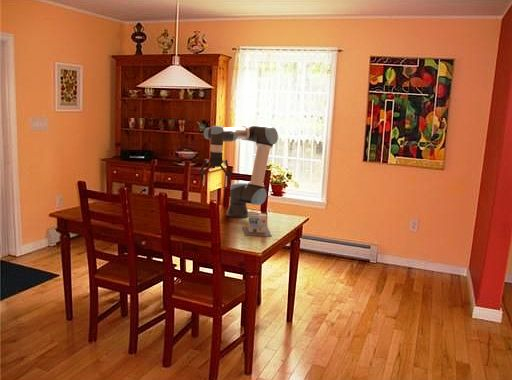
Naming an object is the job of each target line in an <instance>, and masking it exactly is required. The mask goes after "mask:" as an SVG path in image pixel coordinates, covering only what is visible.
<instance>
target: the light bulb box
mask: <svg viewBox="0 0 512 380" xmlns="http://www.w3.org/2000/svg"><path fill="white" fill-rule="evenodd" d="M267 218H268V216H267V214H266V213H257V212H256V213H253V212H250V213H249V212H248V225H247V227H248V231H249V232H256V233H266V228H267V221H268V220H267Z"/></svg>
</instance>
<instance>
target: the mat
mask: <svg viewBox="0 0 512 380" xmlns="http://www.w3.org/2000/svg"><path fill="white" fill-rule="evenodd" d="M242 229H243V232H244V236H245V237H269V238H270V237H272V236H273V235H272V233H271V232H270V229H269V228H268V227H266V233H256V232H249V231H248V226H242Z"/></svg>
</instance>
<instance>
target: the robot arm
mask: <svg viewBox="0 0 512 380" xmlns="http://www.w3.org/2000/svg"><path fill="white" fill-rule="evenodd" d="M203 136H204V139H206V140H210V149H209V150H210V152H209V159H207V158H205V159H204V162H203V164H202V166H201V167H200V170H199V171H198V174H199V175H201V181H202V185H203V187H205V182H206V179H205V178H206V175H205V174H206V173H207V172H208V171H209V170H210V169H211V168H212V167H213V168H220V169H221V170H222V171H223V172H224V174H225V181H224V182H225V184H224V185H225V186H224V187H225V188H227V186H228V182H229V180H230V176H232V175H233V174H232V171H231V167H230V166H229V164H228V159H223V154H224V153H223V152H224V143H225V142H226V143H228V142H230V143H232V142H235V141H237V140H241V141H248V142H252V143H255V145H256V146H257V147H256V152H255V157H254V158H255V159H254V163H253V167H252V168H253V169H252V173H251V178H250V181H249V182H248V183H247V182H238V183H237V182H236V183H231V185H230V192H229V193H230V195H229V205H228V208H227V211H226V216H227V217H230V218H234V219H235V218H238V219H240V218H241V219H243V218H247V217H248V218H249V210H248V206H247V204H250V205H255V206H256V205H257V206H261V205H262V204H263V203H264V202H265V201H266V200H267V199H266V198H267V196H268V194H267V190H266V189H265V184H264V181H265V175H266V170H267V166H268V160H269V155H270V151H271V149H272V148H273V146H274V145H275V144H276V143H277V142H278V139H279V133H278V131H277V129H276V128H275V127H274V126H269V125H268V126H267V125H258V124H253V125H246V126H244V125H243V126H241V127H224V126H222V125H221V126H220V125H212V126H211V127H206V128H205V129H204V130H203ZM208 163H209V165H208V166H207V167H206V165H207V164H208ZM222 164H225V166H226V169H227V170H226V169H225V168H224V166H223V165H222ZM205 167H206V168H205ZM204 168H205V169H204Z"/></svg>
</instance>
